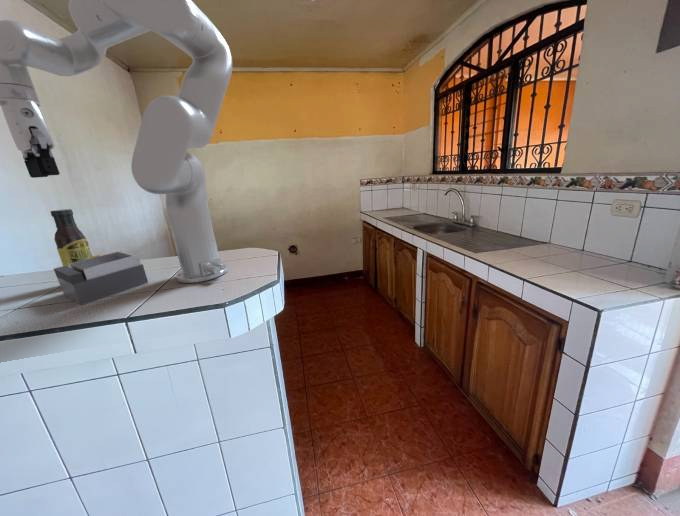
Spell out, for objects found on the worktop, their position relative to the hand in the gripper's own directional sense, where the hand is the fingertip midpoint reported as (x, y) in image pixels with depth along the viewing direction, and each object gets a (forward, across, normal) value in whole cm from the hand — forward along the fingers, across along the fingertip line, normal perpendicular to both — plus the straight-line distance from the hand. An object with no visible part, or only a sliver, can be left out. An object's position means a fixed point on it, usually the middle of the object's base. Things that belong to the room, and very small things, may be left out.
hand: (45, 176), depth 70 cm
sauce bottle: (+28, 0, 0) cm, 28 cm away
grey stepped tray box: (+28, -12, -1) cm, 31 cm away
